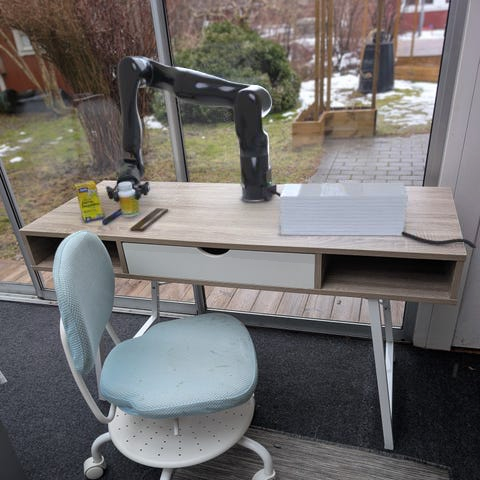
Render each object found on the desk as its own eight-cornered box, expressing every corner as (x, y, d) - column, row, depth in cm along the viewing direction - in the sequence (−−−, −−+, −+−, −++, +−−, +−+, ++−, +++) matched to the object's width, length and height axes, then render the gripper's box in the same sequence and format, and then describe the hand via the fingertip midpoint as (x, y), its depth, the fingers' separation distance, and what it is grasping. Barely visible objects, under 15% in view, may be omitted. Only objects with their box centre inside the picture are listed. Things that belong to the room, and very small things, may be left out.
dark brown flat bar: (156, 210, 153) (156, 207, 153) (168, 210, 152) (167, 208, 152) (130, 230, 140) (130, 228, 140) (142, 231, 139) (142, 228, 138)
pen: (125, 208, 157) (124, 203, 156) (130, 209, 156) (129, 204, 155) (101, 225, 145) (100, 220, 144) (106, 225, 145) (105, 220, 144)
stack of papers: (398, 220, 133) (403, 182, 127) (402, 235, 124) (408, 195, 118) (284, 220, 138) (283, 183, 133) (280, 234, 130) (279, 196, 124)
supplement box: (85, 223, 148) (76, 188, 142) (82, 217, 153) (73, 183, 147) (104, 218, 150) (96, 184, 144) (100, 213, 155) (92, 180, 149)
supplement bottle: (135, 217, 146) (129, 186, 140) (119, 217, 147) (112, 186, 142) (142, 211, 150) (136, 180, 145) (126, 210, 151) (120, 180, 146)
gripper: (104, 172, 154) (100, 188, 140) (148, 167, 156) (148, 183, 142) (109, 195, 158) (105, 213, 144) (152, 190, 160) (153, 207, 146)
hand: (127, 198), depth 143 cm, fingers closed on supplement bottle, 5 cm apart
